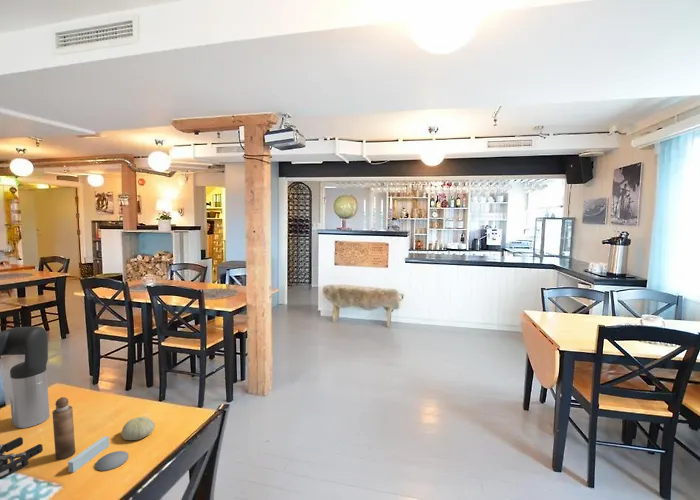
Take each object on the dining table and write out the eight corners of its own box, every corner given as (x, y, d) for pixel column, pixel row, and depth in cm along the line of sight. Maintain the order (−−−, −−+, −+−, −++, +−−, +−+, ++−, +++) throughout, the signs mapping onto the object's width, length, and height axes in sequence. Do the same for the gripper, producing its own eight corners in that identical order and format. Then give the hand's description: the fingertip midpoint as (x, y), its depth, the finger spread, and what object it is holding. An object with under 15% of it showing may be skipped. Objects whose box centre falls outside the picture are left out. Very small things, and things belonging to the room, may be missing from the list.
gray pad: (88, 468, 101) (88, 467, 101) (111, 450, 109) (111, 449, 109) (113, 472, 100) (113, 471, 100) (134, 453, 108) (134, 452, 108)
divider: (68, 471, 100) (68, 461, 100) (104, 445, 112) (104, 436, 112) (73, 472, 100) (72, 462, 100) (109, 445, 112) (108, 436, 111)
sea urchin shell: (142, 439, 112) (125, 419, 113) (127, 453, 114) (111, 434, 114) (162, 422, 121) (147, 404, 122) (149, 436, 123) (134, 418, 123)
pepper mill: (51, 458, 105) (47, 401, 104) (66, 448, 110) (62, 393, 108) (64, 460, 105) (60, 402, 103) (79, 450, 109) (75, 394, 108)
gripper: (-34, 477, 81) (47, 436, 96) (-68, 462, 86) (14, 425, 101) (-31, 508, 82) (49, 462, 97) (-65, 491, 87) (16, 450, 102)
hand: (31, 443), depth 99 cm, fingers open, 8 cm apart
